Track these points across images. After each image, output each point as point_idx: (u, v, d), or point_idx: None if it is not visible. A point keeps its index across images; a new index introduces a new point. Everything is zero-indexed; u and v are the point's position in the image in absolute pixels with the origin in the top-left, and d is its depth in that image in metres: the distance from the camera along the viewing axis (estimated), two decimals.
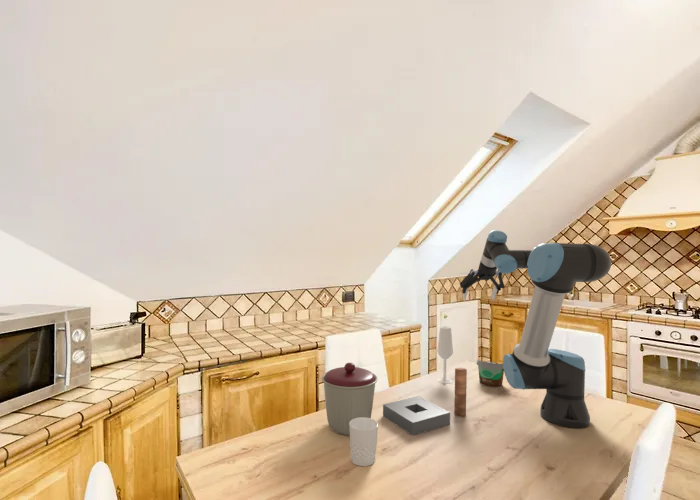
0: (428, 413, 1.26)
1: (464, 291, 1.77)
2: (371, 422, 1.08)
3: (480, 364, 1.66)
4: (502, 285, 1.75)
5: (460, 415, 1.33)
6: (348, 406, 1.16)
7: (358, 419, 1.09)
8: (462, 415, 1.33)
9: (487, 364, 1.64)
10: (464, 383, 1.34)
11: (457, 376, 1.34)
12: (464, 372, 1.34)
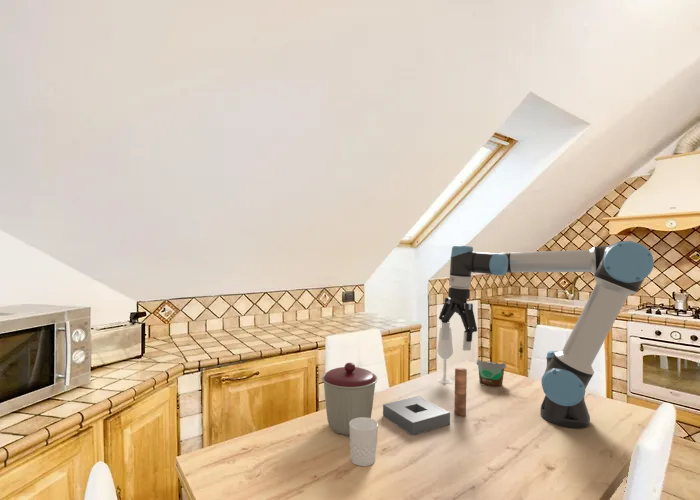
0: (428, 413, 1.26)
1: None
2: (371, 422, 1.08)
3: (480, 364, 1.66)
4: None
5: (460, 415, 1.33)
6: (348, 406, 1.16)
7: (358, 419, 1.09)
8: (462, 415, 1.33)
9: (487, 364, 1.64)
10: (464, 383, 1.34)
11: (457, 376, 1.34)
12: (464, 372, 1.34)
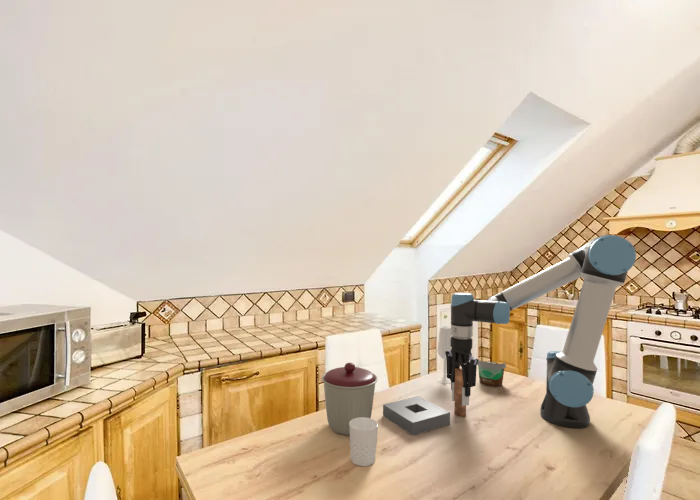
0: (428, 413, 1.26)
1: None
2: (371, 422, 1.08)
3: (480, 364, 1.66)
4: None
5: (460, 415, 1.33)
6: (348, 406, 1.16)
7: (358, 419, 1.09)
8: (462, 415, 1.33)
9: (487, 364, 1.64)
10: None
11: (457, 376, 1.34)
12: None
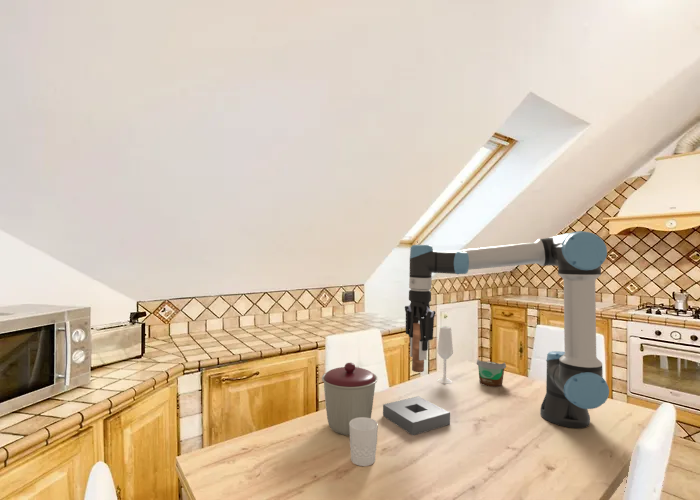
0: (428, 413, 1.26)
1: None
2: (371, 422, 1.08)
3: (480, 364, 1.66)
4: None
5: (417, 370, 1.29)
6: (348, 406, 1.16)
7: (358, 419, 1.09)
8: (419, 370, 1.29)
9: (487, 364, 1.64)
10: None
11: (414, 330, 1.29)
12: None
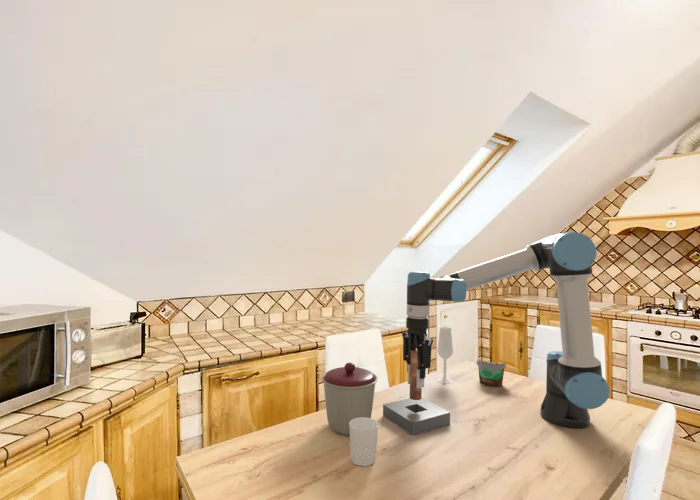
0: (428, 413, 1.26)
1: None
2: (371, 422, 1.08)
3: (480, 364, 1.66)
4: None
5: (415, 398, 1.28)
6: (348, 406, 1.16)
7: (358, 419, 1.09)
8: (417, 398, 1.28)
9: (487, 364, 1.64)
10: None
11: (412, 358, 1.29)
12: None
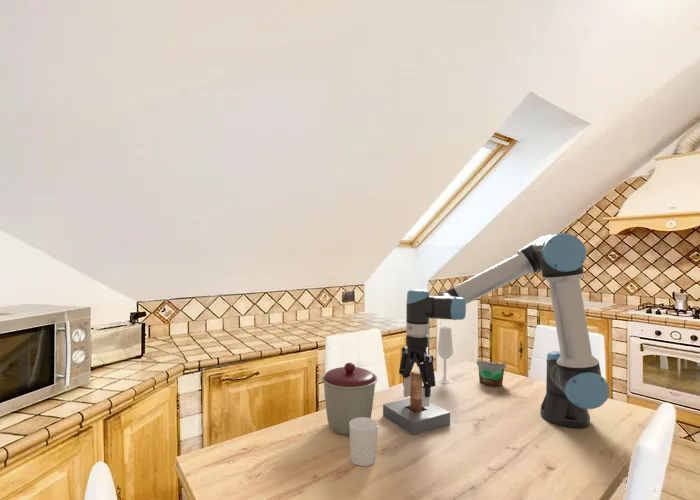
0: (428, 413, 1.26)
1: None
2: (371, 422, 1.08)
3: (480, 364, 1.66)
4: None
5: None
6: (348, 406, 1.16)
7: (358, 419, 1.09)
8: None
9: (487, 364, 1.64)
10: (419, 388, 1.28)
11: (412, 380, 1.29)
12: (419, 376, 1.28)
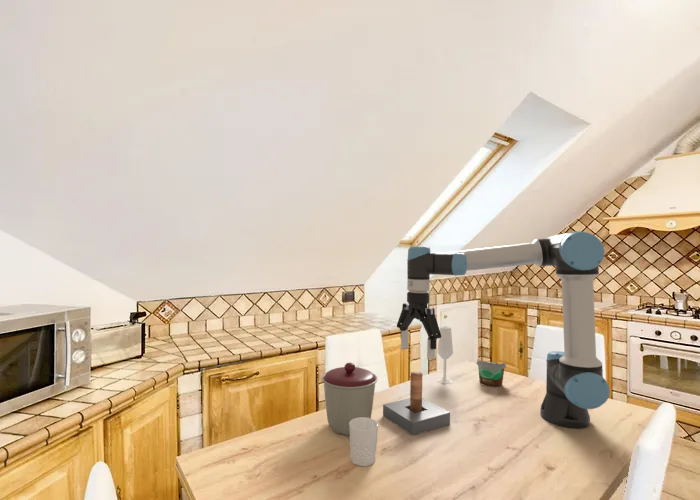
0: (428, 413, 1.26)
1: None
2: (371, 422, 1.08)
3: (480, 364, 1.66)
4: None
5: None
6: (348, 406, 1.16)
7: (358, 419, 1.09)
8: None
9: (487, 364, 1.64)
10: (419, 388, 1.28)
11: (412, 380, 1.29)
12: (419, 376, 1.28)
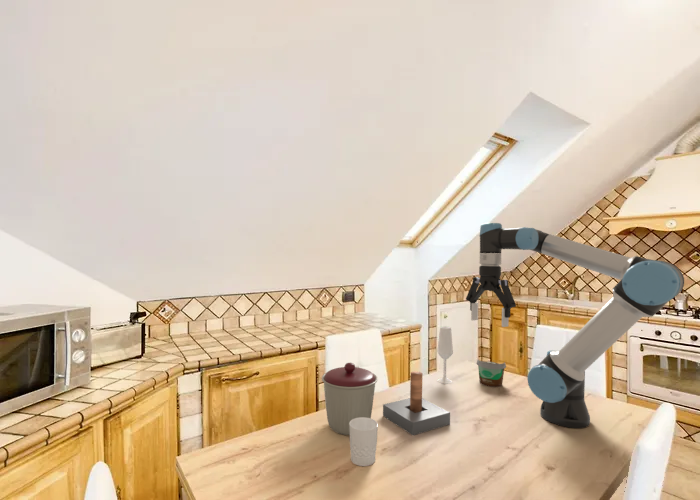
0: (428, 413, 1.26)
1: None
2: (371, 422, 1.08)
3: (480, 364, 1.66)
4: None
5: None
6: (348, 406, 1.16)
7: (358, 419, 1.09)
8: None
9: (487, 364, 1.64)
10: (419, 388, 1.28)
11: (412, 380, 1.29)
12: (419, 376, 1.28)
